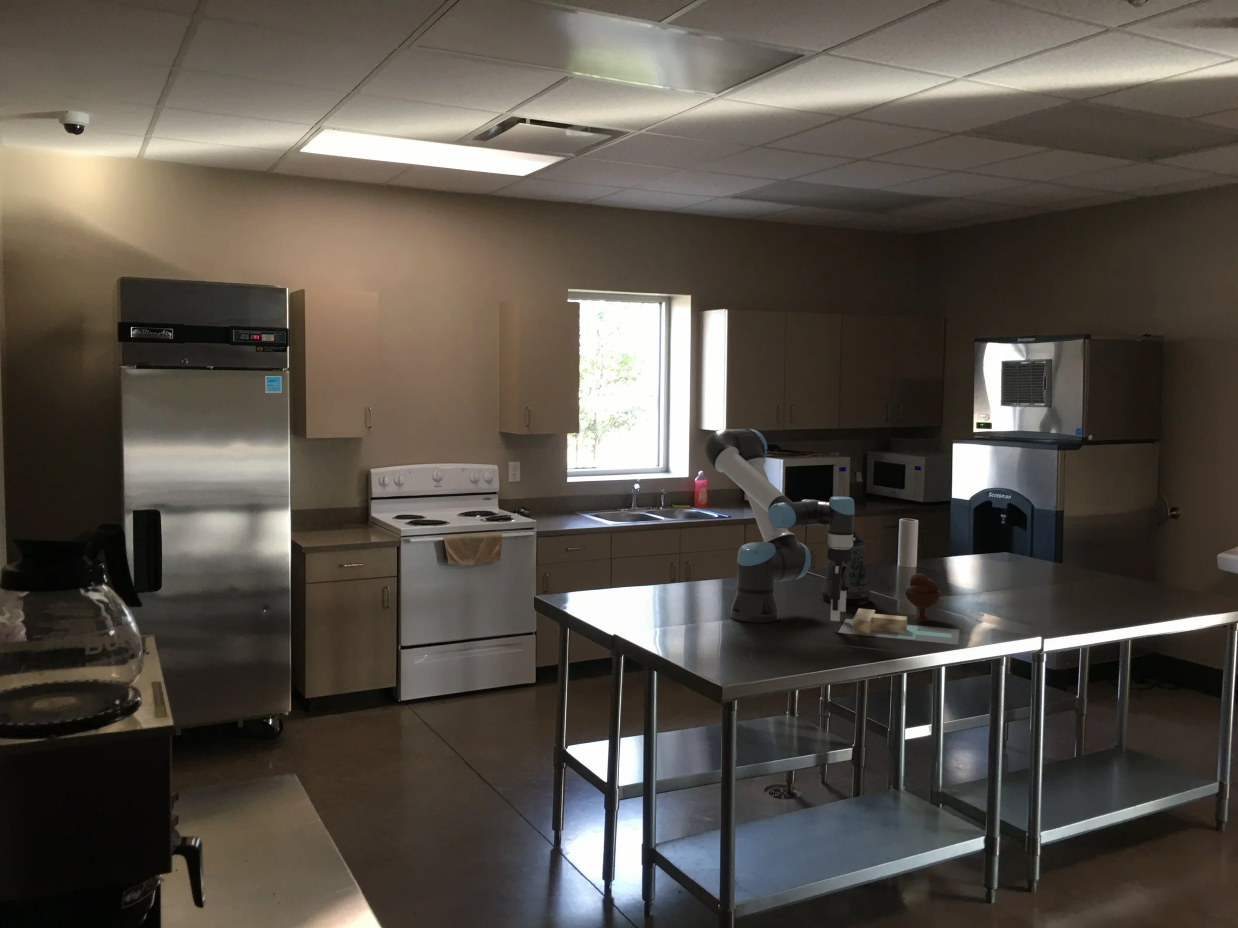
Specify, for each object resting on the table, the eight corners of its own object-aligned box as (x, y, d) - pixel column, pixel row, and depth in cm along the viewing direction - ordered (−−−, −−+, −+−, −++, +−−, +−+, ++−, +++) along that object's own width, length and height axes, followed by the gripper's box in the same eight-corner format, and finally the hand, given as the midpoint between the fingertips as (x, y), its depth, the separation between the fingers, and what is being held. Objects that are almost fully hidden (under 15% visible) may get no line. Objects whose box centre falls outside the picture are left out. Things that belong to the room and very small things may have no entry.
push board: (837, 633, 298) (837, 632, 298) (845, 619, 316) (845, 618, 316) (958, 645, 286) (958, 644, 286) (959, 630, 304) (959, 629, 304)
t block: (852, 632, 298) (852, 619, 298) (858, 620, 313) (858, 608, 313) (904, 637, 293) (904, 624, 293) (908, 625, 308) (908, 612, 308)
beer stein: (866, 596, 352) (869, 525, 350) (874, 608, 333) (877, 534, 331) (818, 594, 354) (821, 524, 352) (824, 606, 335) (827, 532, 333)
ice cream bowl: (916, 625, 310) (918, 577, 309) (897, 617, 321) (899, 571, 320) (946, 623, 313) (948, 576, 312) (926, 615, 324) (928, 569, 323)
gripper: (847, 554, 292) (845, 625, 294) (857, 542, 316) (855, 608, 317) (821, 552, 295) (819, 623, 297) (833, 540, 318) (831, 606, 320)
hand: (838, 615), depth 307 cm, fingers open, 13 cm apart
